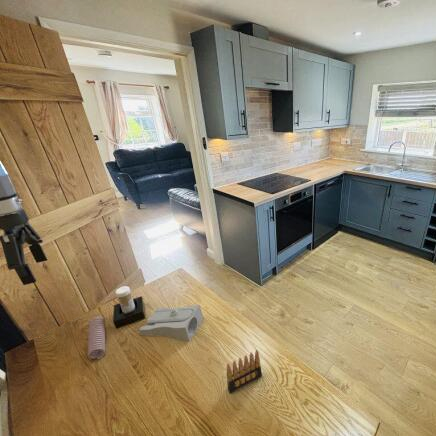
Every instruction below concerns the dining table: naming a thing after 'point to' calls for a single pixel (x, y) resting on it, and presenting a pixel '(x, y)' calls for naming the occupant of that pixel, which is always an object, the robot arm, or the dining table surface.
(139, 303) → the bottle holder
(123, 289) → the sprinkles bottle
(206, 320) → the dining table surface
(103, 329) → the coil
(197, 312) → the wedge sharpener
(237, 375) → the ammunition clip
